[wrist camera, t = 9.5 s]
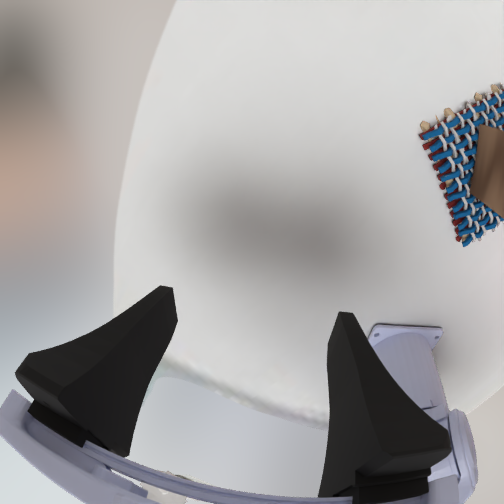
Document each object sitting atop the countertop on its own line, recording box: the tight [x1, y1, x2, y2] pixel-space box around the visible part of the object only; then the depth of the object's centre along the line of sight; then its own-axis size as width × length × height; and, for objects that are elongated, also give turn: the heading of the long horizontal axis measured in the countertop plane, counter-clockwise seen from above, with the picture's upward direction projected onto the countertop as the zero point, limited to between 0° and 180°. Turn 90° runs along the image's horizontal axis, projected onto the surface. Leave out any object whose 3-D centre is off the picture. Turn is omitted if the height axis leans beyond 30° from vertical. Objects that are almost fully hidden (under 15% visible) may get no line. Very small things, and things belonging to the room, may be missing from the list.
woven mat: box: [420, 83, 504, 247], centre depth 14 cm, size 10×11×2 cm
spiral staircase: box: [140, 471, 187, 504], centre depth 70 cm, size 18×18×25 cm
